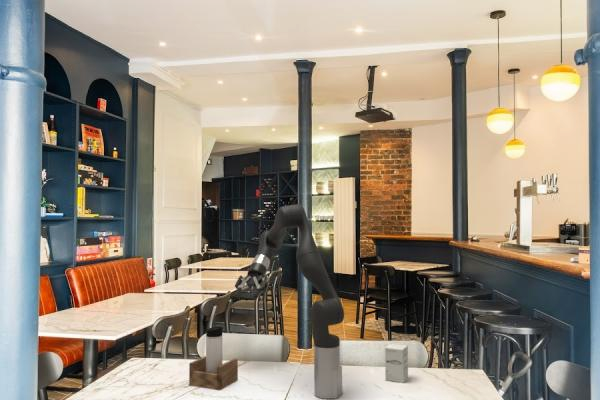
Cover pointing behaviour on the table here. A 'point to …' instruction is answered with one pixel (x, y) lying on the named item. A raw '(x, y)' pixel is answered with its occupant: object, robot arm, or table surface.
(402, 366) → the supplement box
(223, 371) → the cradle
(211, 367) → the travel mug
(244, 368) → the table surface
